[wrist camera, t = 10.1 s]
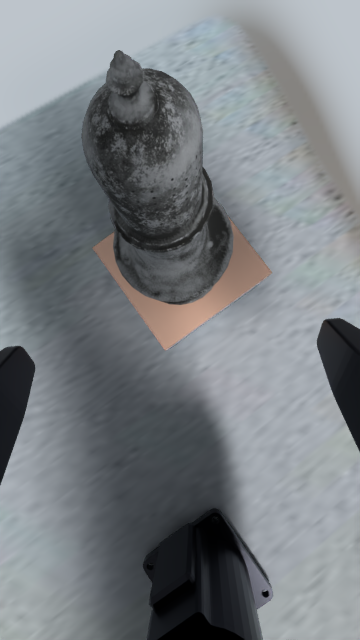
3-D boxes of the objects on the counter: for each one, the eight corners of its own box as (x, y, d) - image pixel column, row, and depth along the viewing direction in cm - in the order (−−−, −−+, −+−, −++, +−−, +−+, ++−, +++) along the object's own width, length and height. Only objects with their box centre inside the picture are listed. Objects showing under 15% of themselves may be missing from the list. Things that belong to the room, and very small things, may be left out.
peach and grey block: (258, 284, 19) (272, 272, 16) (170, 348, 19) (165, 350, 16) (194, 201, 20) (194, 172, 17) (110, 263, 20) (92, 247, 17)
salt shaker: (112, 268, 17) (-114, 85, 5) (174, 198, 17) (106, -165, 5) (182, 329, 16) (130, 303, 4) (246, 256, 16) (384, 13, 4)
